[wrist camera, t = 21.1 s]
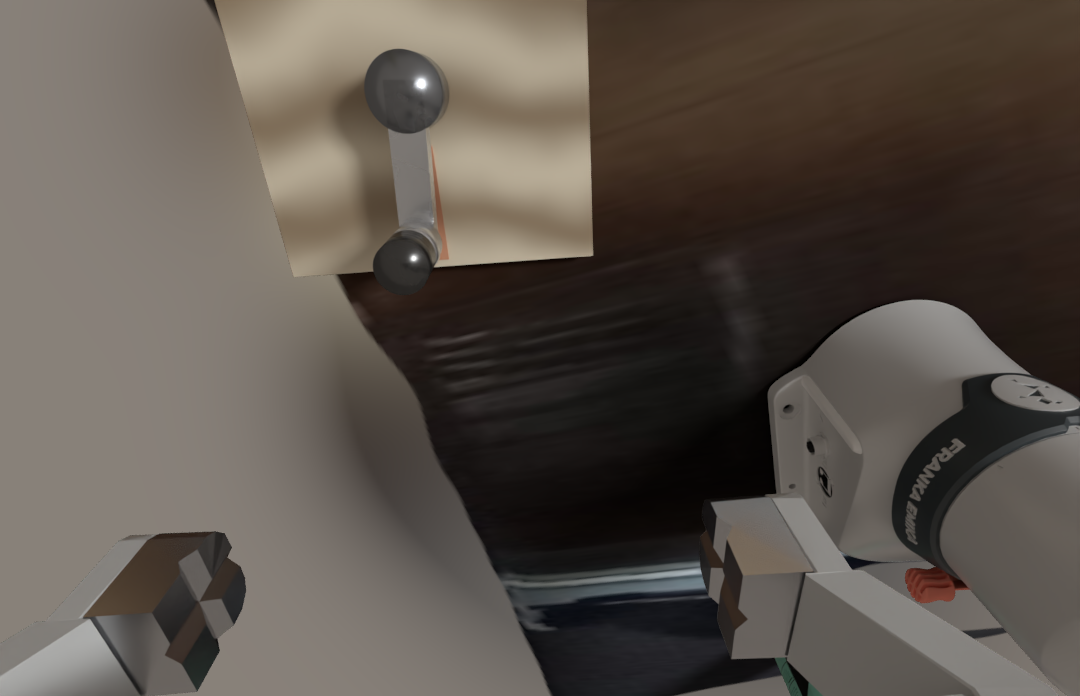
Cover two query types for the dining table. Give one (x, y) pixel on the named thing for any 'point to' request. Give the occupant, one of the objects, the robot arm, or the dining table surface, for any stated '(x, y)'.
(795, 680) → the spray can
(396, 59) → the crank
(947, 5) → the dining table surface
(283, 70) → the crank board
